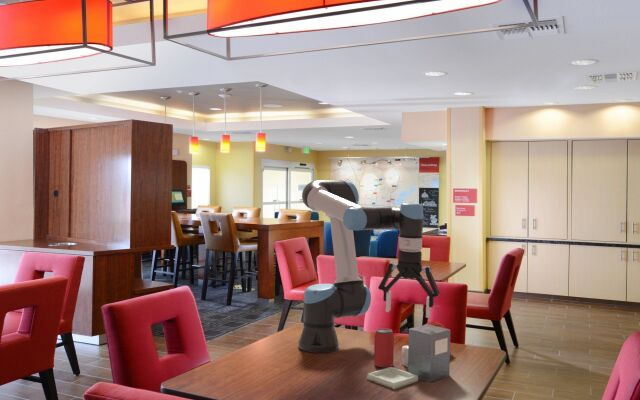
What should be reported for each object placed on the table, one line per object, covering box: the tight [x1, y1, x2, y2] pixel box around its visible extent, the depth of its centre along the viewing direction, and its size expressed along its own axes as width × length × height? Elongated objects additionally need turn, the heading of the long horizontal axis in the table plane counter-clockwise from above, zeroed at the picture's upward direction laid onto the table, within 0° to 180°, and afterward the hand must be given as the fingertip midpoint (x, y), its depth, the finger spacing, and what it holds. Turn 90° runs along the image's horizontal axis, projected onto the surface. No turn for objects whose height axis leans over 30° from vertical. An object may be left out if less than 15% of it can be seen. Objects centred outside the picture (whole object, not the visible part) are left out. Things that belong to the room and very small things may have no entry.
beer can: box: [373, 328, 395, 369], centre depth 192 cm, size 7×7×12 cm
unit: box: [407, 324, 451, 383], centre depth 183 cm, size 10×10×15 cm
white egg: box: [401, 345, 408, 368], centre depth 193 cm, size 5×5×6 cm
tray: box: [366, 366, 419, 390], centre depth 177 cm, size 11×11×2 cm
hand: (407, 314), depth 186 cm, fingers open, 13 cm apart
